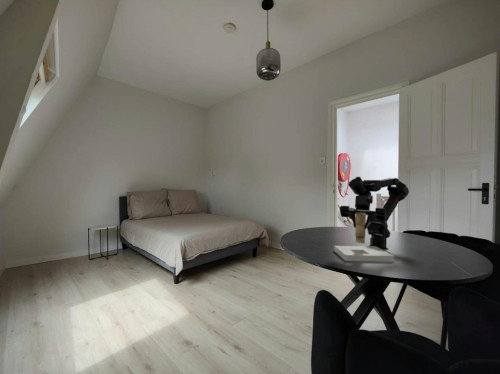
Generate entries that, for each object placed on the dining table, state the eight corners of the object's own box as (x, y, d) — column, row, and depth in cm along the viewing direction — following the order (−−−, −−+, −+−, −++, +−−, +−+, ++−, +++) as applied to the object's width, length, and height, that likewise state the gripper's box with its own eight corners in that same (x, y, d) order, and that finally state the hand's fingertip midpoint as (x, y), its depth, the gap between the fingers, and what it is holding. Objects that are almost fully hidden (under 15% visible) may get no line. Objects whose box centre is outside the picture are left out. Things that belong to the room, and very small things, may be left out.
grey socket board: (375, 251, 111) (376, 246, 111) (393, 261, 97) (393, 255, 97) (334, 250, 111) (334, 245, 111) (345, 261, 97) (345, 255, 97)
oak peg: (362, 241, 104) (363, 212, 103) (366, 243, 100) (367, 213, 99) (353, 240, 104) (354, 212, 103) (357, 243, 100) (358, 213, 99)
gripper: (340, 188, 109) (335, 214, 100) (386, 189, 99) (384, 218, 90) (343, 203, 116) (338, 229, 107) (386, 206, 106) (384, 234, 97)
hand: (360, 227), depth 100 cm, fingers closed on oak peg, 4 cm apart
